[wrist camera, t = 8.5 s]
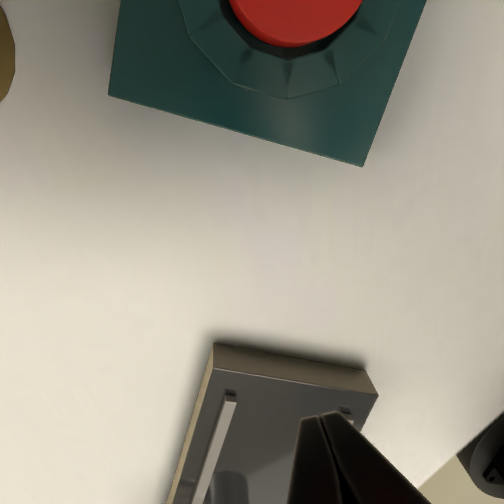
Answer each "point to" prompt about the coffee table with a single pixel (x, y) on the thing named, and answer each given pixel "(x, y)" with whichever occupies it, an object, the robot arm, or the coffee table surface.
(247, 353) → the slide rail base
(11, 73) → the brown tapered upright piece
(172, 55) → the button block
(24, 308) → the coffee table surface
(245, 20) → the button
